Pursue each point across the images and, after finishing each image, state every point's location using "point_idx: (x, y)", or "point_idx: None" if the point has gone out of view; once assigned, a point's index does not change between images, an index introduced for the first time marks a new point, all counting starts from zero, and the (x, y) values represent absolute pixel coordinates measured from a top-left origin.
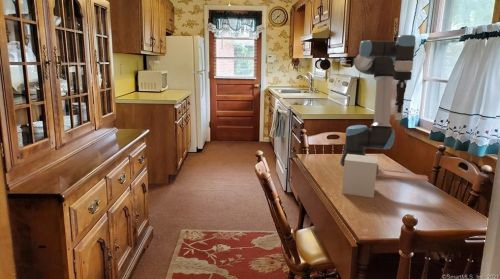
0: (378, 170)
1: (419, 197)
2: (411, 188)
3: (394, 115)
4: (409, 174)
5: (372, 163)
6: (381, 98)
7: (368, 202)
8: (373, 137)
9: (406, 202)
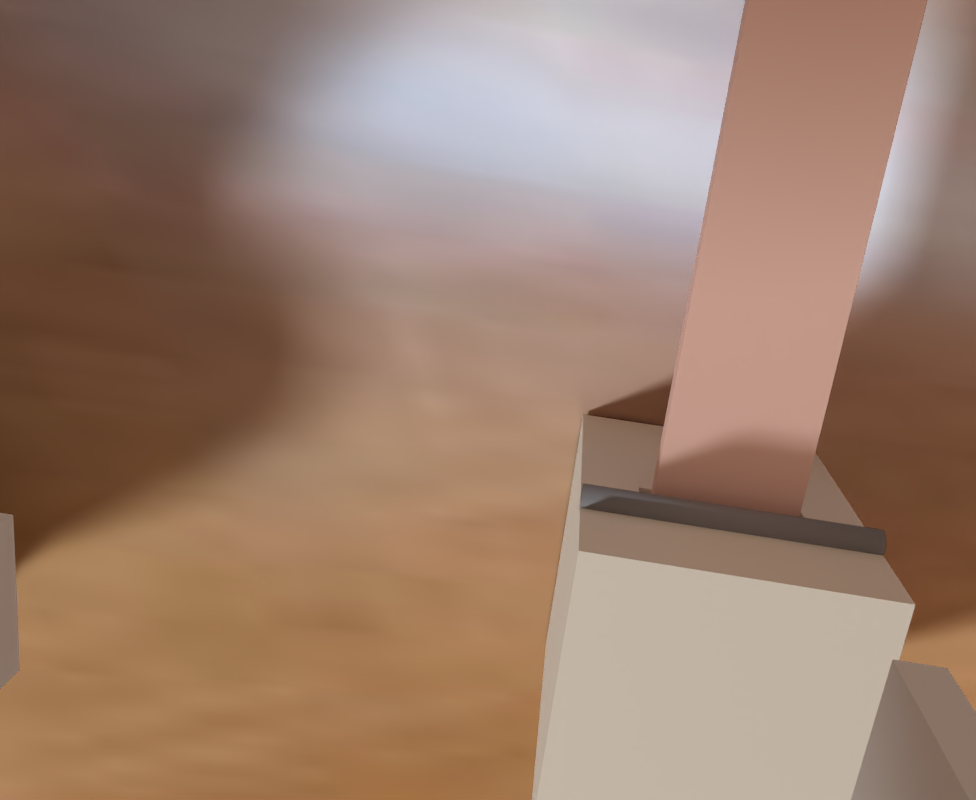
0: (670, 485)
1: (705, 23)
2: (448, 53)
3: (17, 670)
4: (755, 159)
5: (898, 647)
6: None
7: (925, 500)
8: None
9: None
